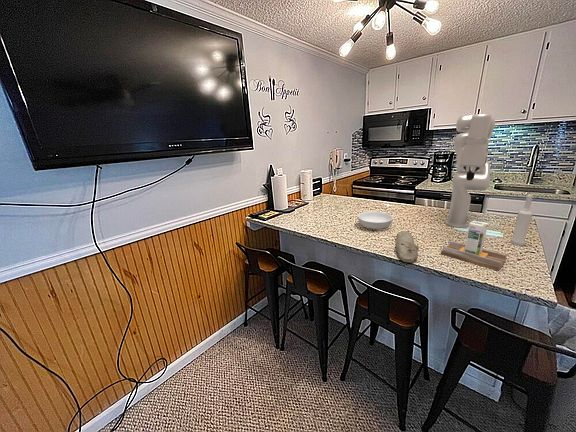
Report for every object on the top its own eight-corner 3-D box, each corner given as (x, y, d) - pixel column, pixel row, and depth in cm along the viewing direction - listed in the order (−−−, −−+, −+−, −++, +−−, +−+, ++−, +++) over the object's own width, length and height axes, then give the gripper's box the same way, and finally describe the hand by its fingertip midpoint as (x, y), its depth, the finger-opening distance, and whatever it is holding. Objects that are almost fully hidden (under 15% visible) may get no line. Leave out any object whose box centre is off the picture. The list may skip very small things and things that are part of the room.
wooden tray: (450, 246, 126) (451, 239, 125) (505, 260, 110) (507, 253, 108) (440, 254, 119) (441, 247, 118) (498, 271, 102) (500, 263, 101)
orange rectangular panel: (462, 248, 119) (462, 246, 119) (487, 255, 112) (488, 253, 112) (457, 253, 115) (457, 251, 115) (483, 260, 108) (484, 258, 108)
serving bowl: (350, 225, 161) (351, 215, 159) (374, 218, 170) (374, 209, 168) (374, 235, 144) (375, 224, 142) (399, 228, 152) (400, 217, 150)
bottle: (510, 243, 125) (522, 196, 117) (511, 240, 128) (523, 193, 120) (523, 246, 121) (537, 197, 113) (524, 243, 124) (537, 195, 116)
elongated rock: (413, 238, 141) (394, 237, 145) (413, 229, 140) (394, 228, 143) (421, 265, 110) (396, 263, 113) (421, 254, 108) (397, 252, 112)
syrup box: (463, 252, 114) (468, 223, 109) (467, 248, 117) (473, 219, 113) (478, 256, 110) (484, 226, 105) (482, 252, 113) (488, 222, 109)
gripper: (498, 141, 114) (490, 180, 120) (461, 141, 125) (455, 177, 131) (494, 142, 110) (485, 182, 116) (455, 142, 121) (449, 179, 127)
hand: (469, 179), depth 123 cm, fingers closed
